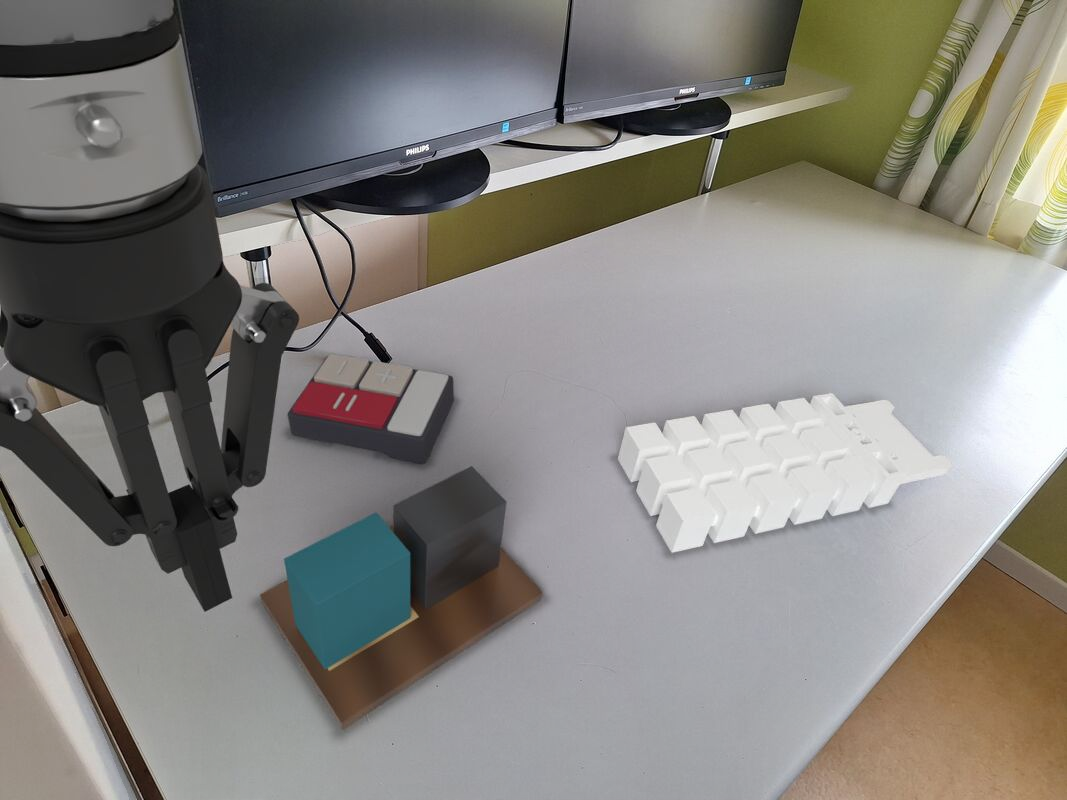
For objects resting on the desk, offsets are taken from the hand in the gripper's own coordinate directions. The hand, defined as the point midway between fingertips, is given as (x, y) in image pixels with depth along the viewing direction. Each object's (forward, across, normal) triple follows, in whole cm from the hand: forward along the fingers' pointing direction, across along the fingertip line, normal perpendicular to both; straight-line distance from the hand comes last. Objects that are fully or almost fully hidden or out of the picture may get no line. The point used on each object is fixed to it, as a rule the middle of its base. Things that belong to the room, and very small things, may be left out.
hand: (208, 587), depth 41 cm
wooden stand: (+22, +16, +6) cm, 28 cm away
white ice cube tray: (+23, +59, -4) cm, 63 cm away
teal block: (+21, +11, +6) cm, 25 cm away
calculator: (+23, +26, +28) cm, 45 cm away
